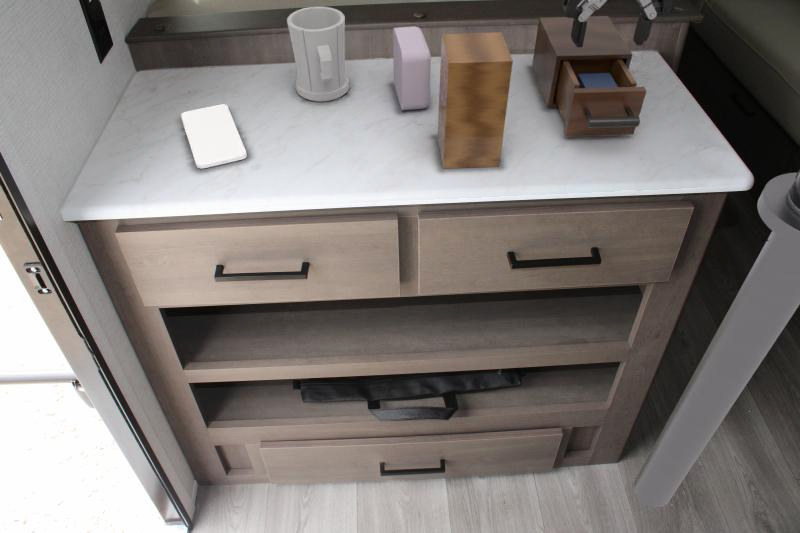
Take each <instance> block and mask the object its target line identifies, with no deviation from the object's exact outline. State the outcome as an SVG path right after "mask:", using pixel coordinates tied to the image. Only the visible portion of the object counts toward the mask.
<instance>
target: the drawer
mask: <svg viewBox="0 0 800 533" xmlns="http://www.w3.org/2000/svg"><path fill="white" fill-rule="evenodd" d="M592 73H610V74H611V76H612V78H613V79H614V81H615V83H616V84H617V86H618V87H611V88H579V86H580V84H579V82H578V80H577V77H578V74H592ZM637 84H638V82H636V79H635V78H634V76H633V74H632V73H631V71H630V70H629V69H628V68H627V67H626V65H625V63H624V62H623V60H622V59H585V60H561V61H560V67H559V72H558V78H557V83H556V88H555V94H554V98H555V100H556V103H557V105H558V108H557V109H558V110H559V112H560V116H561V117H562V120H563V122H564V128H563V134H564V137H594V136H595V137H598V136H631V135H635V131H636V128H637V127H638V128H639V126H640V124H641V119H640V118H641V117H640V114H641V111H642V108H643V104H644V102H645V97H646V94H647V89H646V87H645V86H637Z"/></svg>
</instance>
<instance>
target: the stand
mask: <svg viewBox="0 0 800 533" xmlns="http://www.w3.org/2000/svg"><path fill="white" fill-rule="evenodd" d="M513 62H514V61H513V57H512V55H511V53H510V50H509V47H508V45H507V42H506V40H505V37H504V35H503V32H501V31H499V32H469V33H468V32H467V33H464V32H463V33H442V34H441V46H440V67H439V68H440V70H439V92H438V93H439V94H438V116H437V117H438V118H437V142H438V147H439V152H440V157H441V158H440V159H441V164H442V169H467V168H469V169H470V168H492V167H493V168H495V167H500V164H501V155H502V149H503V148H502V146H503V141H504V140H503V139H504V133H505V126H506V125H505V124H506V117H507V110H508V103H509V102H508V101H509V94H510V92H509V91H510V87H511V86H510V85H511V77H512V69H513Z"/></svg>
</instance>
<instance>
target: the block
mask: <svg viewBox="0 0 800 533" xmlns="http://www.w3.org/2000/svg"><path fill="white" fill-rule="evenodd" d="M577 80H578V82H579V84H580V86H579V88H611V87H618V86H617V84H616V83H615V81H614V79H613V78H612V76H611V74H610V73H592V74H578V77H577Z"/></svg>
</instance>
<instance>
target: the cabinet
mask: <svg viewBox="0 0 800 533" xmlns="http://www.w3.org/2000/svg"><path fill="white" fill-rule="evenodd" d="M573 20H574V18H568V17H567V16H555V17H552V16H551V17H539V18H538V25H537V29H536V37H535V42H534V43H535V44H534V49H533V50H534V51H533V56H532V64H531V70H532V72H533V75H534V77H535V78H534V79H535V80H536V82H537V85H538V88H539V90H540V93H541V95H542V98H543V100H544V101H543V102H544V103H545V105H546V109H549V110H550V109H559V108H558V105H557V103H556V100H555V98H554V94H555V88H556V83H557V78H558V72H559V67H560V61H561V60H585V59H622V60H623V62H624V63H625V65H626V67H627V68H628V70H629V69H630V65H631V62H632V58H633V52H632V50H631V49H630V48H629V46H628V45H627V43H626V42H625V40H624V38H623V37H622V35H621V34H620V32H619V30H618V29H617V27H616V26H615V24H614V22H613V21H612V20H611V18H610V17H609V16H608V15H598V16H595V15H593V16H592V15H590V16H589V18H588V19H587V20H586V21H587V27H586V32H585V37H584V42H583V46H582V47H576V45H575V43H573V41H572V39H571V32H572V25H573Z"/></svg>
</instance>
